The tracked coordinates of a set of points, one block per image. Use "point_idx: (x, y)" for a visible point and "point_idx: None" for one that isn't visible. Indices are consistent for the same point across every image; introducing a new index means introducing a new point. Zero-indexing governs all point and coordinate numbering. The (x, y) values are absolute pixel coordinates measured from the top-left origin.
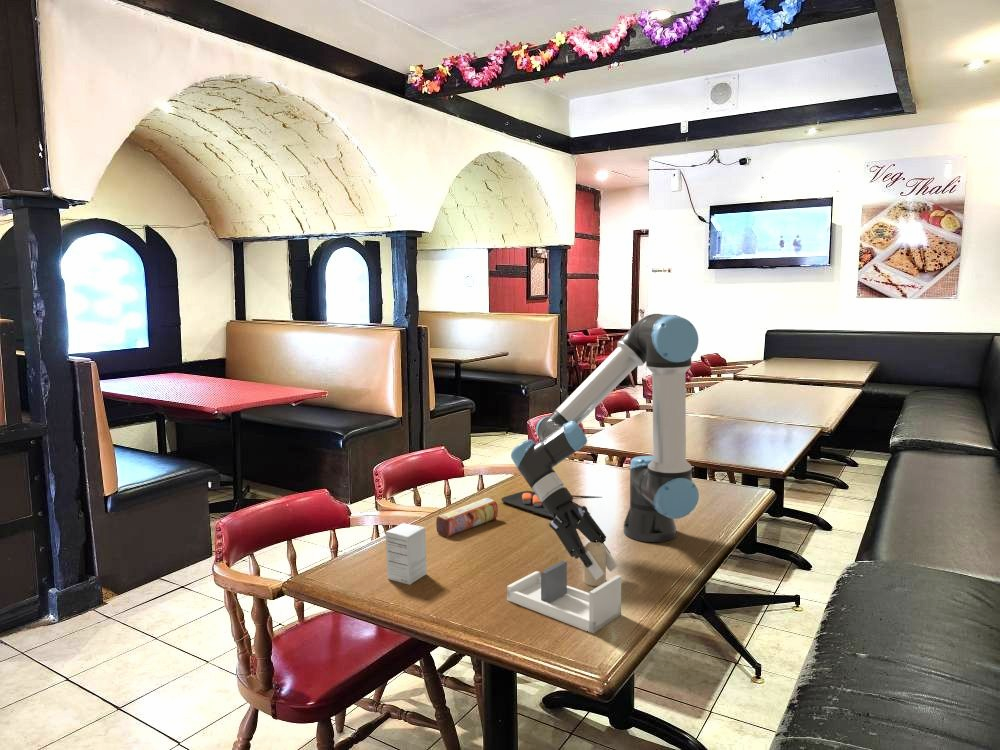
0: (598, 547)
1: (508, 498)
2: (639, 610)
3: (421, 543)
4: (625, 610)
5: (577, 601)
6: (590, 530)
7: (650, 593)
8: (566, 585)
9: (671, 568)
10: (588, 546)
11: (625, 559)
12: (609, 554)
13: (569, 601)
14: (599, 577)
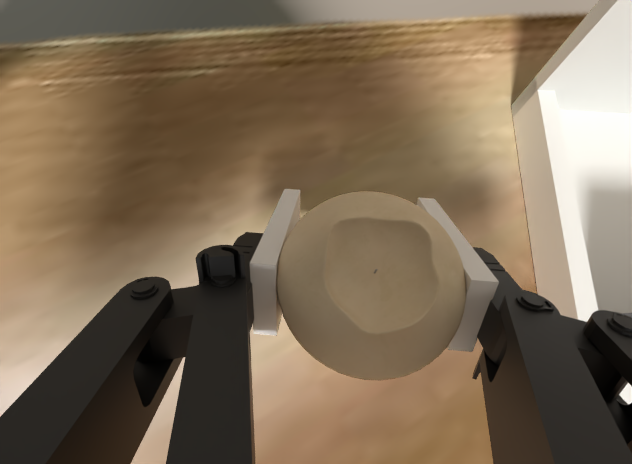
0: (406, 214)
1: None
2: (443, 77)
3: None
4: (475, 107)
5: (592, 243)
6: (239, 410)
7: (311, 97)
8: (625, 314)
9: (70, 120)
10: (445, 300)
11: (44, 304)
12: (279, 219)
13: (619, 271)
14: None
